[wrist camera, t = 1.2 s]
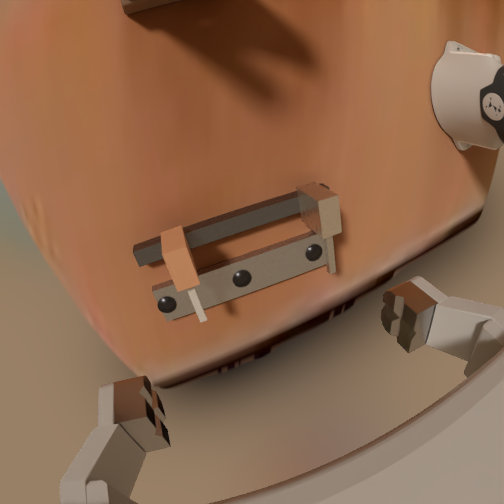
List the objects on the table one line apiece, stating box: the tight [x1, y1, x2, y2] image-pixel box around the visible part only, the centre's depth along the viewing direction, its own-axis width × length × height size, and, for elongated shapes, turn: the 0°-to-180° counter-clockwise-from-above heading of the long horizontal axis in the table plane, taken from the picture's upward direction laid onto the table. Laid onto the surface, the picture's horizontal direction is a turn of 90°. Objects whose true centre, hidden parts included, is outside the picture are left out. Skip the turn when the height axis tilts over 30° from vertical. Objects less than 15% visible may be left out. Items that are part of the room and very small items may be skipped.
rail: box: [133, 182, 342, 274], centre depth 36 cm, size 24×10×7 cm, turn 103°
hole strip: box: [152, 231, 334, 321], centre depth 40 cm, size 24×5×1 cm, turn 103°
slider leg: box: [161, 225, 207, 322], centre depth 34 cm, size 2×10×5 cm, turn 13°
